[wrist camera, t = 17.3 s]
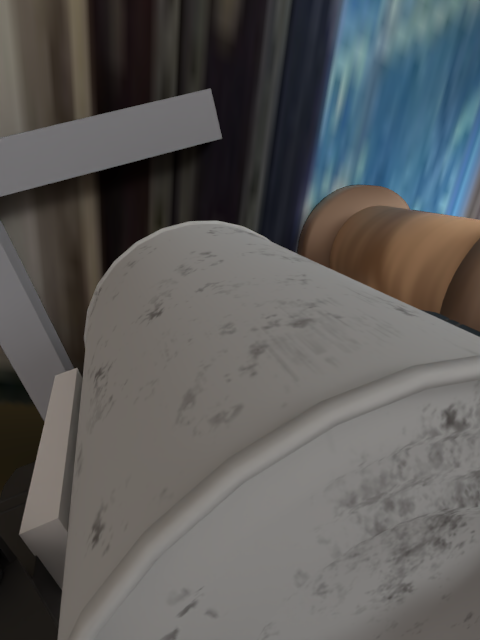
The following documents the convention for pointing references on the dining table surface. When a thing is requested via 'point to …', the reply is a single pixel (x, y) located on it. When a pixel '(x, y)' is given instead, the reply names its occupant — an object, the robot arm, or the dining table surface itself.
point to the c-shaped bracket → (64, 163)
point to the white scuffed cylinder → (269, 453)
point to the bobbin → (398, 250)
